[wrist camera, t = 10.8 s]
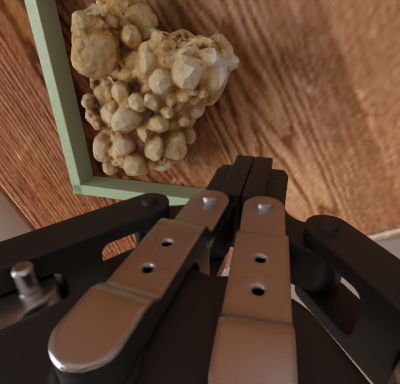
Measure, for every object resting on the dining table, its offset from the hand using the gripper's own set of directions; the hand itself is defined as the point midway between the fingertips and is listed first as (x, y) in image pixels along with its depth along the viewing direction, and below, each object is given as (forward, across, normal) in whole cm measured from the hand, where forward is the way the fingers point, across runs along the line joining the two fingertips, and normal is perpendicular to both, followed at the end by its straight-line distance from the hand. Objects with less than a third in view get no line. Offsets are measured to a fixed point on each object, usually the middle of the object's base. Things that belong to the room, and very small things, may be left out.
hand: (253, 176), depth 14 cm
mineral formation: (+16, +11, 0) cm, 19 cm away
